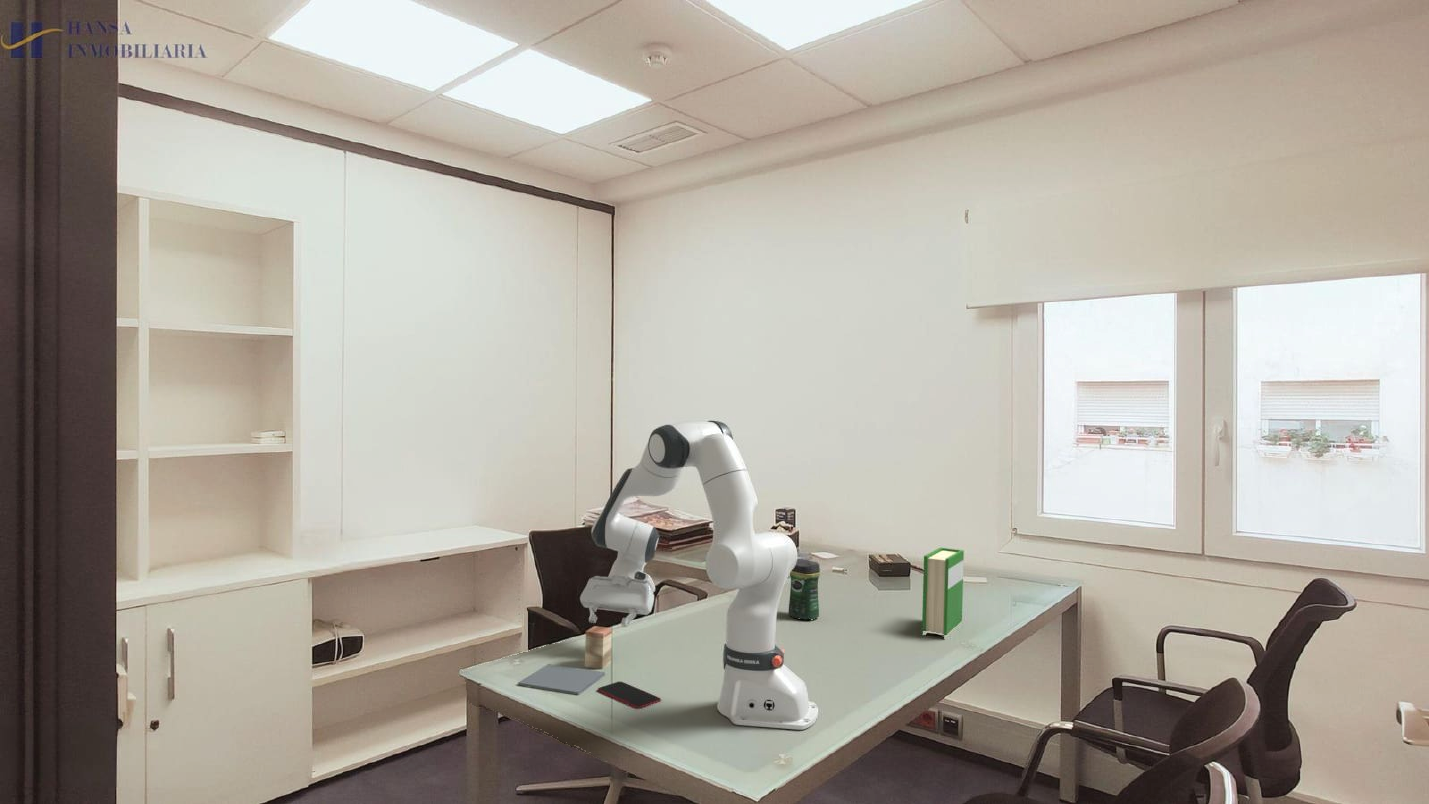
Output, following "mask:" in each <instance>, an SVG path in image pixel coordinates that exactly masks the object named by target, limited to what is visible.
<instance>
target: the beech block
mask: <svg viewBox="0 0 1429 804" xmlns="http://www.w3.org/2000/svg"><path fill="white" fill-rule="evenodd" d="M612 632H613V628H612V627H604V626H599V625H598V626H596V625H594V626H592V627H590V628H589V629H588V630H585V642H584V645H585V646H584V667H586V668H593V669H598V670H599V669H601V670H603V669H604V668H606V667H608V666H609V665H610V664H611V663H612V644H613V643H612V640H613V639H612V638H613V633H612Z"/></svg>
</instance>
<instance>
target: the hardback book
mask: <svg viewBox="0 0 1429 804" xmlns="http://www.w3.org/2000/svg"><path fill="white" fill-rule="evenodd" d="M964 554H965V551H964V550H963V549H955V548H948V547H946V548H945V547H938V548H936V549H934V550H933V551H931V552H929V553H927V554H925V555H924V556H923V581H922V582H923V583H922V586H923V587H922V615H921V617H922V619H921V623H922V624H921V632H922V631H931V632H936V633H942V634H944V635H947V634H948V633H949V632H950V631H951V630H952V629H953V628H954V627H956V626H957V625H958V624H959V623H960V622H961V621H962V622H963V595H964V593H963V592H964V591H963V590H964V557H965V556H964Z"/></svg>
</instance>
